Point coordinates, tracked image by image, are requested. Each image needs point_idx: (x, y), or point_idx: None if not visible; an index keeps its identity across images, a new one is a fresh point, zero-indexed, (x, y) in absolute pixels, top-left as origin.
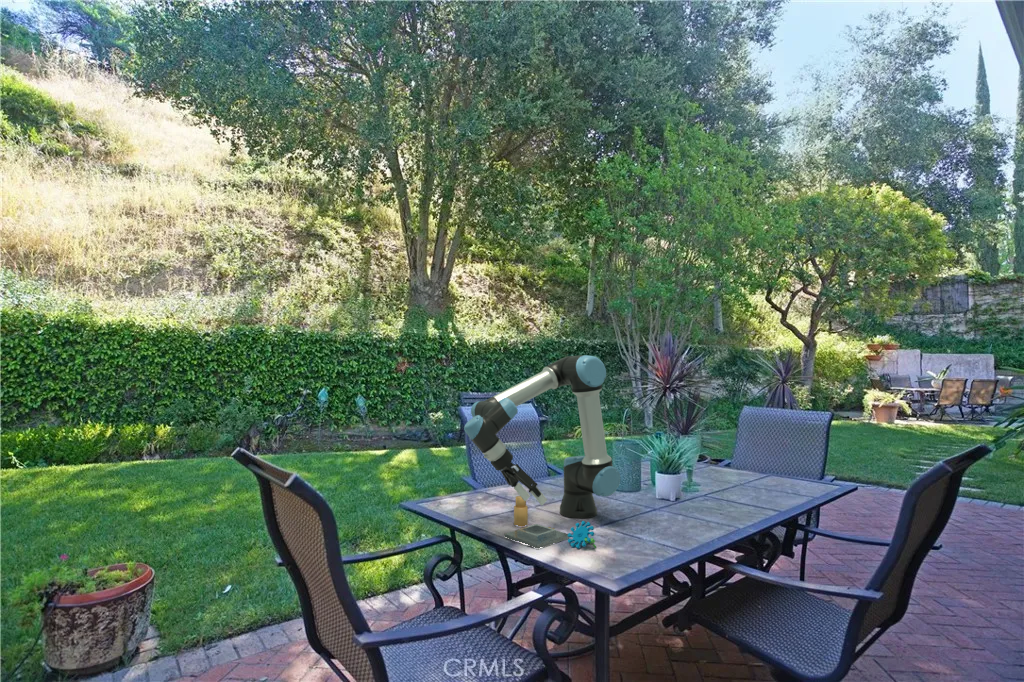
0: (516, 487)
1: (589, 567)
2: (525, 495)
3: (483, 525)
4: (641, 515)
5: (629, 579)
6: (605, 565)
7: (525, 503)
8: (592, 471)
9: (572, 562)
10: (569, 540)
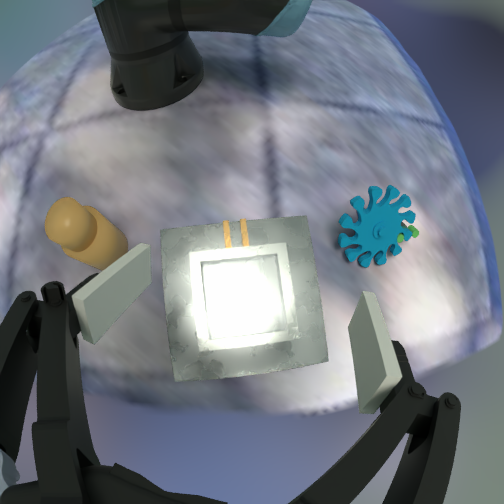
0: (96, 328)
1: (455, 318)
2: (139, 275)
3: None
4: None
5: (497, 293)
6: (460, 283)
7: (90, 217)
8: None
9: (427, 332)
10: (354, 257)
